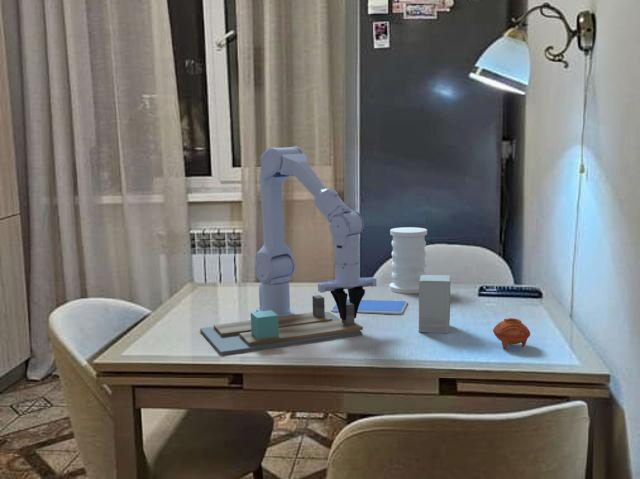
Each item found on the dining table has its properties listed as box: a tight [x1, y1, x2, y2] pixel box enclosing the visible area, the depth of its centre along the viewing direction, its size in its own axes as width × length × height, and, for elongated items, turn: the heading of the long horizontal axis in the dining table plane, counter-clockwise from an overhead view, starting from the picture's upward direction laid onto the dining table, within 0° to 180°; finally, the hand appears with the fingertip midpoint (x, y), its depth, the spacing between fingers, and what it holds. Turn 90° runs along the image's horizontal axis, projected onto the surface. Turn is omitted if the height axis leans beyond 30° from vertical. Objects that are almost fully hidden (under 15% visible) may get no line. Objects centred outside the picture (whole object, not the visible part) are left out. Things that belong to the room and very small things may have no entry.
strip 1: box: [213, 294, 332, 337], centre depth 171 cm, size 8×28×6 cm, turn 112°
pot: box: [492, 317, 531, 350], centre depth 154 cm, size 8×8×7 cm
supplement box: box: [418, 274, 451, 334], centre depth 168 cm, size 7×7×13 cm
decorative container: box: [388, 226, 428, 295], centre depth 209 cm, size 12×12×18 cm
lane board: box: [199, 311, 363, 356], centre depth 168 cm, size 20×34×1 cm, turn 112°
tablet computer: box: [330, 298, 409, 316], centre depth 190 cm, size 19×13×1 cm, turn 76°
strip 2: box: [239, 302, 364, 346], centre depth 164 cm, size 8×28×6 cm, turn 112°
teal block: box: [250, 310, 279, 339], centre depth 160 cm, size 5×5×5 cm
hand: (348, 318), depth 168 cm, fingers closed on strip 2, 2 cm apart
